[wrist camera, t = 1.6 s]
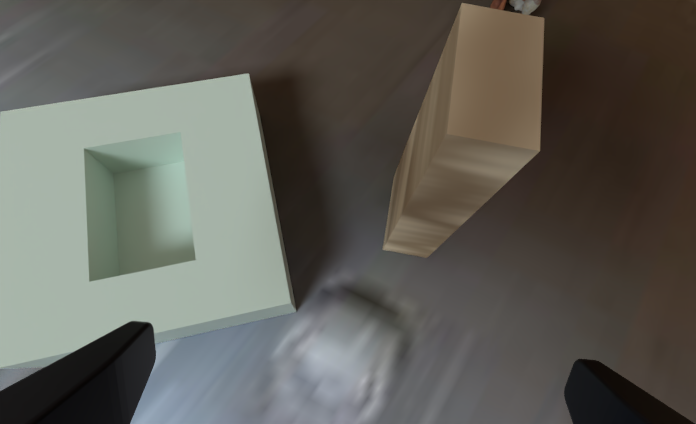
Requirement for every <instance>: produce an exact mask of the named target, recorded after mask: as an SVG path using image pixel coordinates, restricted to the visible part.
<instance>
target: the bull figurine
mask: <svg viewBox="0 0 696 424" xmlns="http://www.w3.org/2000/svg"><path fill="white" fill-rule="evenodd" d="M506 1H507V0H493V2H492V4H491V6H490V8H492V9H498V10H504V8H505V4H506ZM541 1H542V0H509V4H510V5H511V6H513V7H514V10H515V11H516V10H520V11H522V14H525V15H529V14H530V13H531V12H533V11H534V10H536V9H537V7H538V6H539V5H540V3H541Z"/></svg>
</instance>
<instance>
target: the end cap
mask: <svg viewBox="0 0 696 424" xmlns="http://www.w3.org/2000/svg"><path fill="white" fill-rule="evenodd" d="M294 312H297V311H296V306H295V301H294V295H293V290H292V285H291V279H290V274H289V268H288V263H287V258H286V252H285V247H284V242H283V236H282V231H281V226H280V220H279V215H278V210H277V204H276V199H275V193H274V188H273V183H272V177H271V172H270V167H269V161H268V156H267V151H266V145H265V140H264V135H263V129H262V124H261V118H260V114H259V110H258V106H257V102H256V99H255V95H254V91H253V87H252V84H251V80H250V76H249V73H248V74H242V75H235V76H229V77H222V78H216V79H209V80H203V81H196V82H190V83H184V84H177V85H171V86H164V87H158V88H151V89H145V90H138V91H132V92H125V93H119V94H113V95H106V96H100V97H93V98H87V99H80V100H74V101H67V102H61V103H54V104H48V105H41V106H35V107H29V108H22V109H16V110H9V111H3V112H1V115H0V369H10V368H33V367H46V366H48V365H50V364H52V363H54V362H55V361H57V360H59V359H61V358H63V357H65V356H67V355H68V354H70V353H72V352H74V351H76V350H78V349H80V348H81V347H83V346H85V345H87V344H89V343H91V342H93V341H94V340H96V339H98V338H100V337H102V336H104V335H106V334H107V333H109V332H111V331H113V330H115V329H117V328H119V327H120V326H122V325H124V324H126V323H128V322H130V321H142V322H150V323H151V324H152V325H153V329H154V339H155V344H156V343H161V342H165V341H170V340H174V339H179V338H183V337H187V336H192V335H196V334H201V333H205V332H210V331H214V330H218V329H223V328H227V327H232V326H236V325H241V324H245V323H249V322H254V321H258V320H263V319H267V318H272V317H276V316H280V315H285V314H289V313H294Z"/></svg>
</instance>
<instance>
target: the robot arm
mask: <svg viewBox="0 0 696 424" xmlns="http://www.w3.org/2000/svg"><path fill="white" fill-rule="evenodd" d="M155 359H156V350H155V339H154V329H153V325H152V324H151V323H150V322H142V321H130V322H128V323H126V324H124V325H122V326H120V327H119V328H117V329H115V330H113V331H111V332H109V333H107V334H106V335H104V336H102V337H100V338H98V339H96V340H94V341H93V342H91V343H89V344H87V345H85V346H83V347H81V348H80V349H78V350H76V351H74V352H72V353H70V354H68V355H67V356H65V357H63V358H61V359H59V360H57V361H55V362H54V363H52V364H50V365H48V366H46V367H44V368H42V369H41V370H39V371H37V372H35V373H33V374H31V375H29V376H28V377H26V378H24V379H22V380H20V381H18V382H16V383H15V384H13V385H11V386H9V387H7V388H5V389H3V390H2V391H0V424H130V422H131V420H132V417H133V415H134V413H135V410H136V408H137V405H138V403H139V400H140V398H141V396H142V393H143V391H144V388H145V386H146V383H147V381H148V378H149V376H150V374H151V371H152V369H153V366H154V363H155ZM564 396H565V401H566V404H567V407H568V410H569V413H570V416H571V419H572V421H573V424H695V423H693V422H691V421H690V420H688V419H687V418H685V417H684V416H682V415H681V414H679V413H678V412H676V411H675V410H673V409H671V408H670V407H668V406H667V405H665V404H664V403H662V402H661V401H659V400H658V399H656V398H655V397H653V396H651V395H650V394H648V393H647V392H645V391H644V390H642V389H641V388H639V387H638V386H636V385H635V384H633V383H631V382H630V381H628V380H627V379H625V378H624V377H622V376H621V375H619V374H618V373H616V372H615V371H613V370H611V369H610V368H608V367H607V366H605V365H604V364H602V363H601V362H599V361H596V360H588V359H578V360H576V361H575V362H574V364H573V367H572V369H571V372H570V375H569V378H568V380H567V383H566V386H565V390H564Z"/></svg>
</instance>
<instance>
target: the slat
mask: <svg viewBox="0 0 696 424" xmlns="http://www.w3.org/2000/svg"><path fill="white" fill-rule="evenodd" d="M543 43H544V18H542V17H536V16H531V15H525V14H520V13H514V12H509V11H503V10H498V9H492V8H487V7H482V6H476V5H471V4H465V3H462V4H461V6H460V9H459V12H458V14H457V17H456V19H455V22H454V24H453V27H452V29H451V32H450V35H449V37H448V40H447V42H446V45H445V47H444V50H443V52H442V55H441V57H440V60H439V63H438V65H437V68H436V70H435V73H434V75H433V78H432V80H431V83H430V86H429V88H428V91H427V93H426V96H425V98H424V101H423V103H422V106H421V109H420V111H419V114H418V116H417V119H416V121H415V124H414V126H413V129H412V132H411V134H410V137H409V139H408V142H407V144H406V147H405V149H404V152H403V155H402V157H401V160H400V162H399V165H398V167H397V170H396V172H395V175H394V179H393V186H392V192H391V199H390V205H389V211H388V218H387V224H386V231H385V237H384V244H383V250H387V251H393V252H398V253H404V254H409V255H414V256H420V257H425V258H427V257H428V256H429V255H431V254H432V253H433V252H434V251H435V250H436V249H437V248H438V247H439V246H440V245H441V244H442V243H443V242H444V241H445V240H446V239H447V238H449V237H450V236H451V235H452V234H453V233H454V232H455V231H456V230H457V229H458V228H459V227H460V226H461V225H462V224H463V223H464V222H465V221H467V220H468V219H469V218H470V217H471V216H472V215H473V214H474V213H475V212H476V211H477V210H478V209H479V208H480V207H481V206H482V205H483V204H485V203H486V202H487V201H488V200H489V199H490V198H491V197H492V196H493V195H494V194H495V193H496V192H497V191H498V190H499V189H500V188H501V187H502V186H504V185H505V184H506V183H507V182H508V181H509V180H510V179H511V178H512V177H513V176H514V175H515V174H516V173H517V172H518V171H519V170H520V169H522V168H523V167H524V166H525V165H526V164H527V163H528V162H529V161H530V160H531V159H532V158H533V157H534V156H535V155H536V154H537V153H538V152H540V135H541V104H542V73H543Z"/></svg>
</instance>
